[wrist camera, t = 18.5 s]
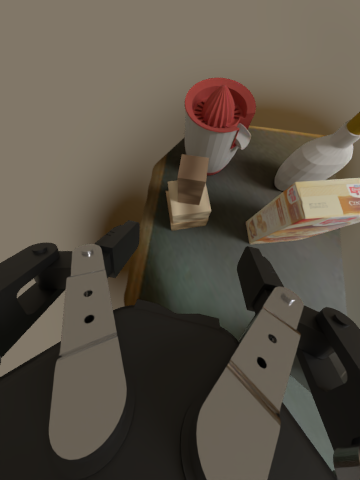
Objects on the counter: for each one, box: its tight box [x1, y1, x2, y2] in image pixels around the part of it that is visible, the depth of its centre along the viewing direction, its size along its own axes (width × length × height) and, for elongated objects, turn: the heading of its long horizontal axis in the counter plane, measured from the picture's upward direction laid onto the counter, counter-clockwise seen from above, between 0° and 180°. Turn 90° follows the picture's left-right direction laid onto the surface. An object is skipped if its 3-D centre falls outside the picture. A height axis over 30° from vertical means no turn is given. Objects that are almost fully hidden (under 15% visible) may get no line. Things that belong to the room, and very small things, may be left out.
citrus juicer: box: [185, 78, 256, 175], centre depth 39 cm, size 16×17×20 cm
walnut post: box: [178, 154, 209, 205], centre depth 31 cm, size 5×5×9 cm
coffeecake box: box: [246, 178, 360, 244], centre depth 34 cm, size 15×7×20 cm, turn 94°
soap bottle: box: [275, 112, 360, 191], centre depth 35 cm, size 14×9×26 cm, turn 94°
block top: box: [168, 180, 211, 224], centre depth 38 cm, size 9×9×5 cm
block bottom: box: [166, 191, 209, 230], centre depth 43 cm, size 10×10×5 cm
